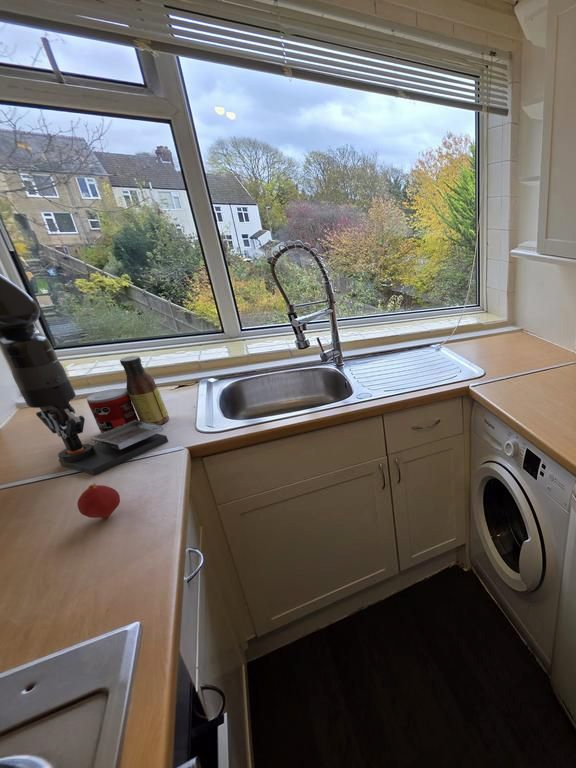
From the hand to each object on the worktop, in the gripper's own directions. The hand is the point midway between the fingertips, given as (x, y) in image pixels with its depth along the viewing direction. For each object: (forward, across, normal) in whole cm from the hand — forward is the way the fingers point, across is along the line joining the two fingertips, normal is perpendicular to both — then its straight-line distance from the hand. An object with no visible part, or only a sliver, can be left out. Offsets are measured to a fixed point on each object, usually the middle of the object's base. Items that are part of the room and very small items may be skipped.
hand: (75, 449), depth 96 cm
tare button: (+2, 0, 0) cm, 2 cm away
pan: (0, +4, +8) cm, 9 cm away
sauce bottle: (+4, -5, +19) cm, 20 cm away
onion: (+4, +27, -11) cm, 30 cm away
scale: (+4, +3, +5) cm, 7 cm away
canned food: (+4, -9, +13) cm, 16 cm away
